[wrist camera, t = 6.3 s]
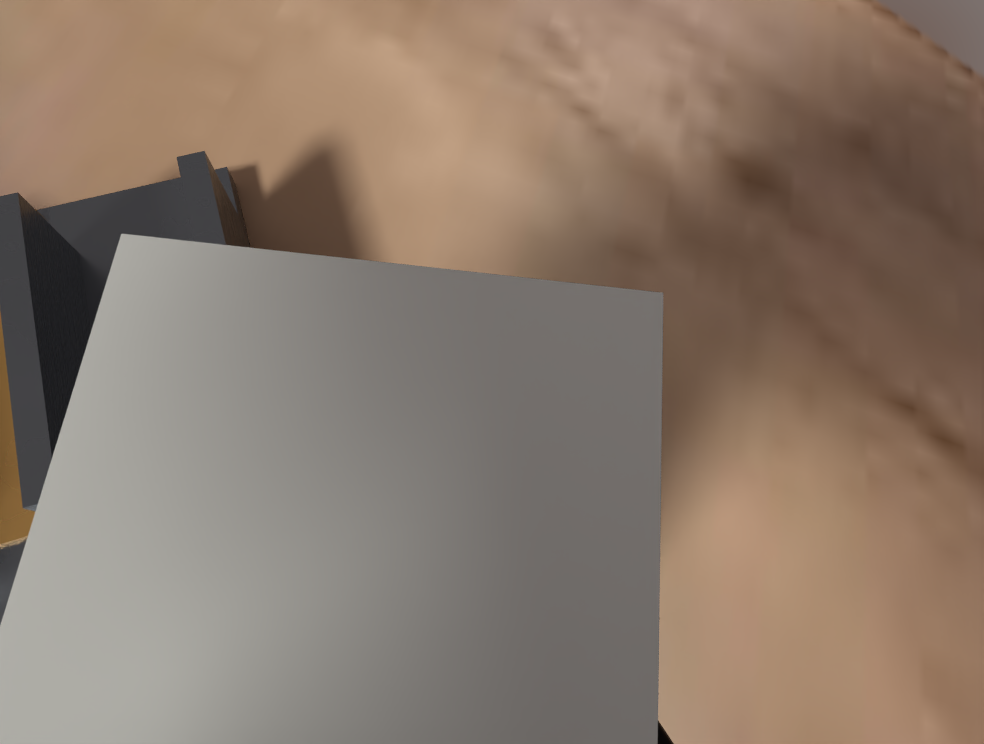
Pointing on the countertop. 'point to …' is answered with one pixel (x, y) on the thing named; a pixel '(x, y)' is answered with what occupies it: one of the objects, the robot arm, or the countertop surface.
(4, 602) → the panel rack
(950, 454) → the countertop surface
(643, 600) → the panel
